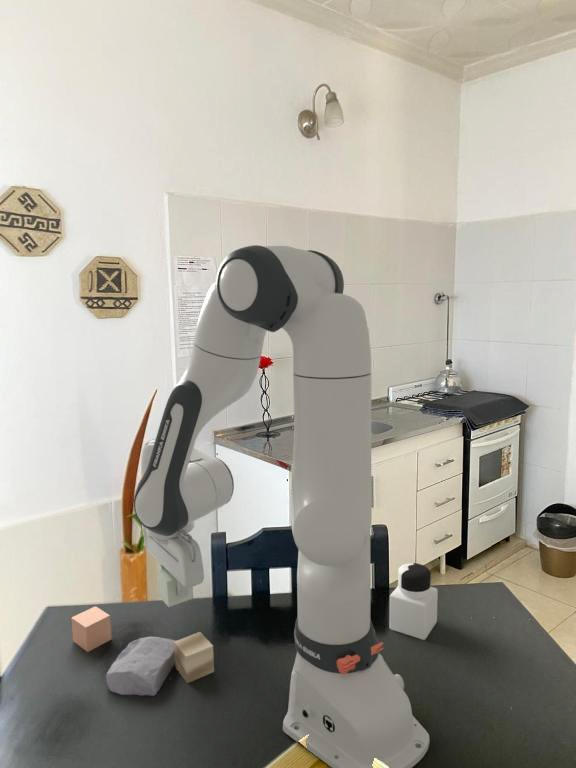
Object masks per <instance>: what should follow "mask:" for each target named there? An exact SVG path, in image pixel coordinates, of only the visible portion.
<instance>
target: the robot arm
mask: <svg viewBox="0 0 576 768" xmlns="http://www.w3.org/2000/svg"><path fill="white" fill-rule="evenodd" d="M217 269H218V270H217V272H216V279H215V282H214V283H213V284H212V285H211V286H210V287H209V289H208V290H207V293H206V296H205V299H204V301H203V304H202V307H201V310H200V312H199V316H198V320H197V324H196V328H195V333H194V337H193V343H192V348H191V352H190V355H189V358H188V361H187V364H186V366H185V369H184V371H183V374H182V375H181V377H180V379H179V380H178V382H177V383H176V385H175V386H174V388H173V390H172V391H171V393H170V395H169V396H168V398H167V401H166V404H165V407H164V410H163V413H162V417H161V420H160V424H159V426H158V430H157V434H156V437H155V438H153V439H151V440H148V441H147V442H146V443H145V444H144V445H143V447H142V452H141V459H140V461H141V462H140V463H141V464H140V469H141V471H140V472H141V478H140V480H139V482H138V484H137V487H136V489H135V493H134V499H133V508H134V509H133V510H134V513H135V516H136V519H137V520H138V522H139V523H140V524H141V527H142V536H143V541H144V545H145V548H146V551H147V552H148V553H149V554H150V555H151V556H152V557H153V558H154V559H155V560H156V561H157V562H158V566H159V568H160V570H164V569H167V570H168V571H169V572H170V573H171V574H172V575H173V576H174V577H175V578H176V580H177V582H178V586H177V587H176V594H177V596H178V597H179V598H184V597H187V596H188V588H189V587H195V586H198V585H200V584H202V583H203V582H204V580H205V573H204V564H203V557H202V552H201V551H202V550H201V547H200V545H199V543H198V542H197V541H196V540H195V539H194V538H193V536H192V535H191V534H189V533H190V532H192V531H193V530H194V528H195V521H197V520H199V519H201V518H203V517H206V516H207V515H209V514H211V513H213V512H214V511H217V510H218V509H220V508H222V507H224V506H225V505H226V504H228V503H230V502H231V499H232V497H233V493H234V489H235V483H234V476H233V473H232V471H231V470H230V468H229V466H228V465H227V464H226V463H225V461H223V460H221V459H220V458H218V457H216V456H210V455H207V454H205V453H203V452H202V451H199V450H198V449H196V448H195V444H196V441H197V438H198V436H199V435H200V433H201V431H202V430H203V429H204V427H205V426H206V425H207V424H208V423H209V422H210V421H211V420H213V419H214V417H216V416H217V415H218V414H220V413H222V411H224V410H225V409H226V408H228V407H230V406H231V405H233V404H234V403H236V402H238V401H239V400H240V399H242V398H243V397H244V396H245V395H246V394H247V393H248V392H249V391H250V389H251V388H252V386H253V384H254V381H255V379H256V378H257V374H258V372H259V368H260V367H259V366H260V362H261V360H262V359H261V357H262V353H263V347H264V343H265V337H266V334H267V332H270V333H275V332H277V331H279V330H280V329H283V330H284V331H285V332H286V333H287V335H288V337H289V338H290V340H291V344H292V354H293V355H292V360H293V361H292V365H293V366H292V372H293V373H292V377H293V379H292V380H293V383H292V384H293V445H292V446H293V447H292V449H293V450H292V463H291V467H292V468H291V489H290V490H291V497H290V499H291V500H290V523H291V531H292V536H293V540H294V543H295V545H296V548H297V549H298V555H297V557H298V558H297V570H296V584H297V585H296V589H297V591H296V593H297V594H296V595H297V596H296V597H297V601H296V603H297V618H295V619H296V620H295V623H294V631H293V636H294V637H293V638H294V645H295V646H294V647H295V650H296V656H295V659H294V663H293V667H292V671H291V675H290V683H289V693H288V695H289V696H288V707H287V712H286V715H285V716H284V717H283V718H284V719H283V721H282V731H283V732H284V733H285V735H287V736H289V737H290V738H291V739H293V740H294V741H295V742H297V741H299V740H300V739H302V738H303V737H305V736H306V735H308V734H309V736H308V738H307V739H306V741H305V742H306V746H307V749H306V750H307V751H309V752H311V753H312V754H313V755H314V756H316V757H317V758H319V759H320V760H321V761H323V762H324V763H325V764H326V765H328V766H329V767H331V768H373V766H372V764H373V761H374V758H377V759H378V760H380V761H382V762H384V763H385V764H386V765H388V766H389V768H413V767H414V766H416V764H418V763H419V762H420V761H421V760H422V759H423V758H424V756H425V755H426V753H427V752H428V750H429V747H430V743H431V739H430V734H429V733H428V731H427V730H426V729H425V728H424V727H423V725H421V723H420V722H419V720H417V719H416V718H415V715H413V712H412V705H411V702H410V699H409V697H408V695H407V694H406V692H405V690H404V689H405V683H404V678H403V677H402V676H401V675H400V674H398V673H395V674H393V672H392V670H391V668H389V666H388V664H387V663H386V661H385V660H384V656H382V655H381V654H380V652H381V651H382V650H384V647H382V646H383V645H384V642H383V641H380V642H379V643H378V639H377V636H376V631H375V628H374V625H373V622H372V619H371V580H372V579H371V578H372V577H371V574H372V573H371V527H372V511H373V510H372V354H371V343H370V341H371V340H370V334H369V326H368V321H367V317H366V312H365V309H364V308H363V305H362V304H361V303H360V302H359V301H358V300H356V298H353V297H352V296H350V295H347V294H345V293H344V287H345V284H344V283H345V281H344V275H343V273H342V269H340V267H339V264H337V263H336V261H334V260H333V259H332V258H331V257H329V256H328V255H326V254H324V253H322V252H321V251H320V252H319V251H316V250H312V249H311V250H310V249H309V250H306V249H301V248H295V247H292V246H288V245H264V246H262V245H257V244H256V245H253V244H252V245H248V246H244V247H241V248H238V249H236V250H234V251H231V252H230V253H229V254H227V255H226V256H225V258H224V259H223V260H222V262H220V264H219V267H218V268H217Z"/></svg>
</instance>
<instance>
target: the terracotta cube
mask: <svg viewBox="0 0 576 768" xmlns="http://www.w3.org/2000/svg"><path fill="white" fill-rule="evenodd" d="M70 619H71V629H72V641H73V643H75V645H77V646H79V647H80V648H81V649H83V650H84V651H85V652H87V653H88V652H89V653H90V651H92V650H94V649H96V648H98V647H100V646H102V645H103V644H105V643H108V642H109V641H111V640H112V639H113V637H112V623H111V615H110V614H108V613H107V612H105V611H104V610H102V609H101V608H99V607H98V606H93V607H91V608H89V609H87V610H85V611H82V612H80V613H78V614H76V615H74V616H72V617H71V618H70Z"/></svg>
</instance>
